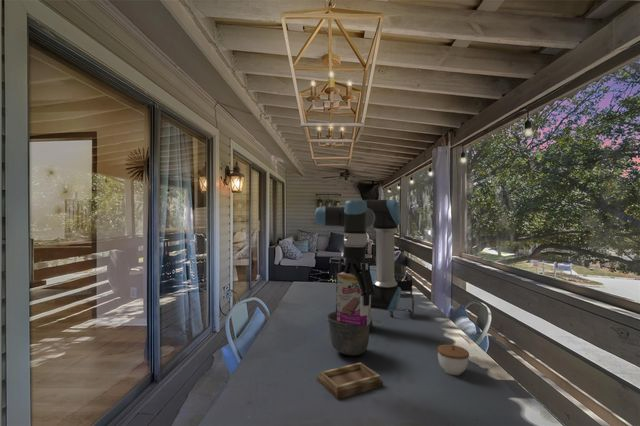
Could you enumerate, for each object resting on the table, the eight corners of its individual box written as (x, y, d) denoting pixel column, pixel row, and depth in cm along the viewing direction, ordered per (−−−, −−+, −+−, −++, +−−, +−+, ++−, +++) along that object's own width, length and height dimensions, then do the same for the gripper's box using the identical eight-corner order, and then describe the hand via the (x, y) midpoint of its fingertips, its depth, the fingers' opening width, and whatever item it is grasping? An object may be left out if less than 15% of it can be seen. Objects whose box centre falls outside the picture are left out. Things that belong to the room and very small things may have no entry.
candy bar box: (334, 322, 109) (336, 273, 110) (340, 318, 114) (341, 271, 114) (366, 327, 105) (368, 277, 105) (371, 323, 109) (372, 274, 110)
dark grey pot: (340, 366, 121) (341, 326, 121) (319, 348, 137) (319, 313, 137) (378, 357, 129) (379, 320, 129) (354, 342, 145) (355, 308, 145)
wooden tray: (359, 369, 119) (359, 360, 119) (382, 385, 108) (383, 376, 108) (316, 380, 110) (316, 371, 110) (337, 399, 99) (337, 389, 99)
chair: (411, 310, 196) (411, 274, 196) (414, 319, 179) (414, 279, 179) (389, 309, 198) (390, 273, 198) (390, 317, 181) (390, 278, 181)
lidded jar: (433, 364, 125) (433, 339, 125) (461, 365, 125) (461, 340, 125) (442, 377, 114) (443, 351, 114) (473, 379, 114) (474, 352, 114)
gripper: (327, 243, 118) (325, 302, 118) (367, 249, 98) (366, 322, 97) (344, 242, 122) (342, 300, 122) (386, 249, 101) (385, 318, 101)
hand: (353, 310), depth 109 cm, fingers closed on candy bar box, 11 cm apart
